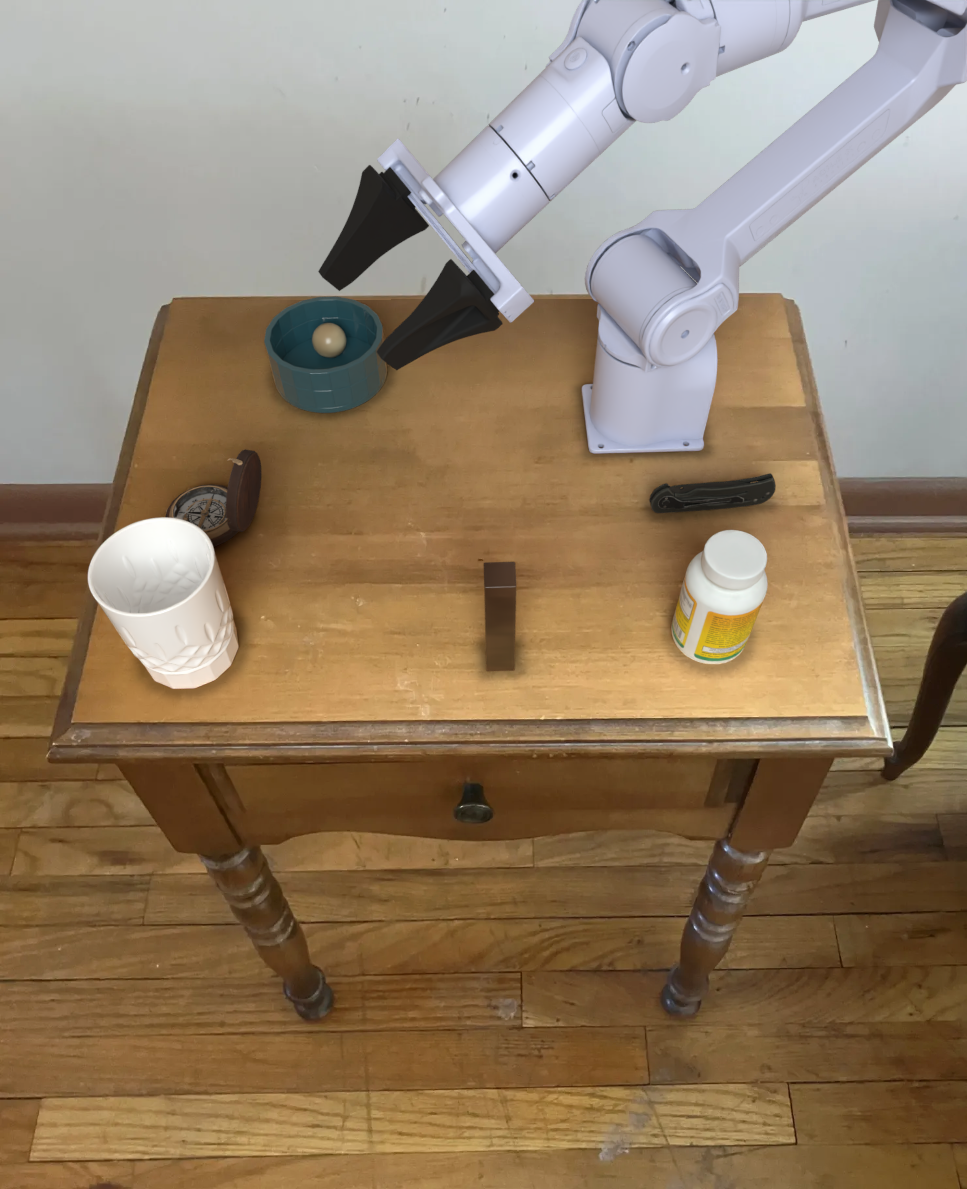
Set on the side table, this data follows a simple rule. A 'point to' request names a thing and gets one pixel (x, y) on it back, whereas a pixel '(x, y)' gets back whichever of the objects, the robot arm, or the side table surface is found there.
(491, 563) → the stirring stick
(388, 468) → the side table surface
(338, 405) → the bowl
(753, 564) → the supplement bottle
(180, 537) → the white cup
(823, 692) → the side table surface
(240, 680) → the side table surface
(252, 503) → the compass
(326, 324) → the bead
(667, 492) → the folding knife
